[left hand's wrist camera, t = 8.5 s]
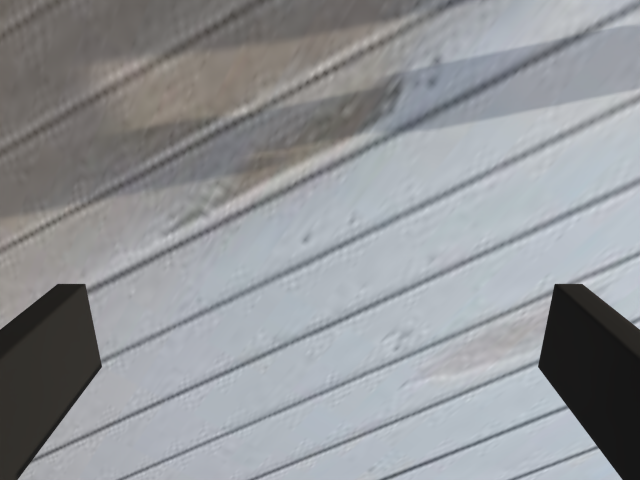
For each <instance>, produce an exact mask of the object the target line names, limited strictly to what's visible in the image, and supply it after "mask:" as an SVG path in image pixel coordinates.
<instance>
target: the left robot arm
mask: <svg viewBox="0 0 640 480" xmlns="http://www.w3.org/2000/svg"><path fill="white" fill-rule="evenodd" d="M101 367H102V365H101V360H100V355H99V350H98V345H97V340H96V335H95V330H94V325H93V320H92V315H91V310H90V305H89V300H88V295H87V290H86V285H85V284H57V285H56V286H55V287H53V288H52V289H51V290H50V291H48V292H47V293H46V294H45V295H43V296H42V297H41V298H40V299H38V300H37V301H36V302H35V303H33V304H32V305H31V306H30V307H28V308H27V309H26V310H25V311H23V312H22V313H21V314H19V315H18V316H17V317H16V318H14V319H13V320H12V321H11V322H9V323H8V324H7V325H6V326H4V327H3V328H2V329H1V330H0V480H18V478H19V477H20V476H21V474H22V473H23V472H24V470H25V469H26V468H27V466H28V465H29V464H30V462H31V461H32V460H33V458H34V457H35V456H36V454H37V453H38V452H39V450H40V449H41V448H42V446H43V445H44V444H45V442H46V441H47V440H48V438H49V437H50V436H51V434H52V433H53V431H54V430H55V429H56V427H57V426H58V425H59V423H60V422H61V421H62V419H63V418H64V417H65V415H66V414H67V413H68V411H69V410H70V409H71V407H72V406H73V405H74V403H75V402H76V401H77V399H78V398H79V397H80V395H81V394H82V393H83V391H84V390H85V389H86V387H87V386H88V385H89V383H90V382H91V381H92V379H93V378H94V377H95V375H96V374H97V373H98V371H99V370H100V369H101ZM538 367H539V369H540V370H541V371H542V373H543V374H544V375H545V377H546V378H547V379H548V381H549V382H550V383H551V385H552V386H553V387H554V389H555V390H556V391H557V393H558V394H559V395H560V397H561V398H562V399H563V401H564V402H565V403H566V405H567V406H568V407H569V409H570V410H571V411H572V413H573V414H574V415H575V417H576V418H577V419H578V421H579V422H580V423H581V425H582V426H583V427H584V429H585V430H586V431H587V433H588V434H589V436H590V437H591V438H592V440H593V441H594V442H595V444H596V445H597V446H598V448H599V449H600V450H601V452H602V453H603V454H604V456H605V457H606V458H607V460H608V461H609V462H610V464H611V465H612V466H613V468H614V469H615V470H616V472H617V473H618V474H619V476H620V477H621V478H622V480H640V330H639V329H638V328H637V327H636V326H634V325H633V324H632V323H631V322H629V321H628V320H627V319H626V318H624V317H623V316H622V315H621V314H619V313H618V312H617V311H615V310H614V309H613V308H612V307H610V306H609V305H608V304H607V303H605V302H604V301H603V300H602V299H600V298H599V297H598V296H597V295H595V294H594V293H593V292H592V291H590V290H589V289H588V288H587V287H585V286H584V285H583V284H555V285H554V290H553V295H552V300H551V305H550V310H549V315H548V320H547V325H546V330H545V335H544V340H543V345H542V350H541V355H540V360H539V365H538Z"/></svg>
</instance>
